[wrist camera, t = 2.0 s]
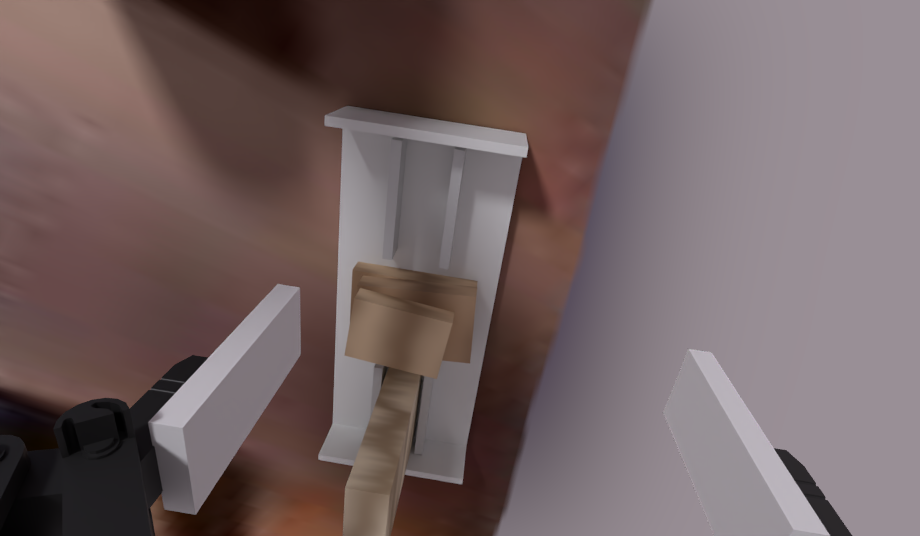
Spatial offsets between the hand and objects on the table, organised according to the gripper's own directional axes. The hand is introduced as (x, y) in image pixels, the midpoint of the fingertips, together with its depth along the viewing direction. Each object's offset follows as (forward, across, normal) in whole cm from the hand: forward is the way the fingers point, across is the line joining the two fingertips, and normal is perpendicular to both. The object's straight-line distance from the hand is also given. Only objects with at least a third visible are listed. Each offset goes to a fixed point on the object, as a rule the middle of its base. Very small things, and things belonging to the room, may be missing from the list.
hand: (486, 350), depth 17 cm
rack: (+31, -6, -16) cm, 35 cm away
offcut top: (+26, -7, -16) cm, 31 cm away
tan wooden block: (+29, -6, -28) cm, 41 cm away
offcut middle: (+28, -5, -16) cm, 32 cm away
